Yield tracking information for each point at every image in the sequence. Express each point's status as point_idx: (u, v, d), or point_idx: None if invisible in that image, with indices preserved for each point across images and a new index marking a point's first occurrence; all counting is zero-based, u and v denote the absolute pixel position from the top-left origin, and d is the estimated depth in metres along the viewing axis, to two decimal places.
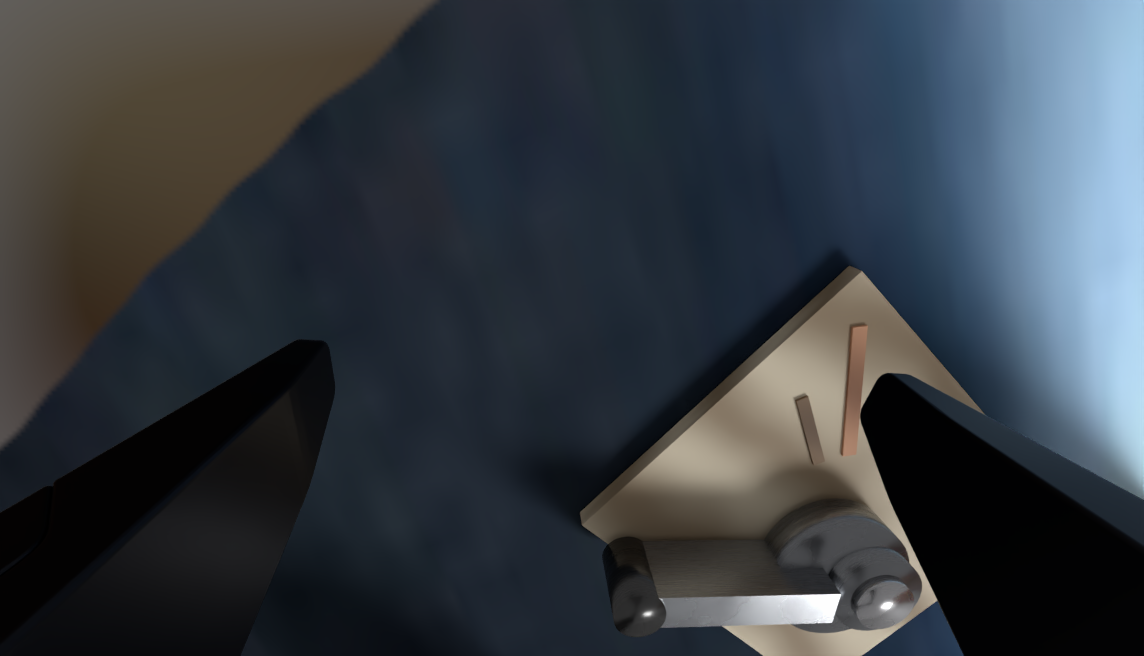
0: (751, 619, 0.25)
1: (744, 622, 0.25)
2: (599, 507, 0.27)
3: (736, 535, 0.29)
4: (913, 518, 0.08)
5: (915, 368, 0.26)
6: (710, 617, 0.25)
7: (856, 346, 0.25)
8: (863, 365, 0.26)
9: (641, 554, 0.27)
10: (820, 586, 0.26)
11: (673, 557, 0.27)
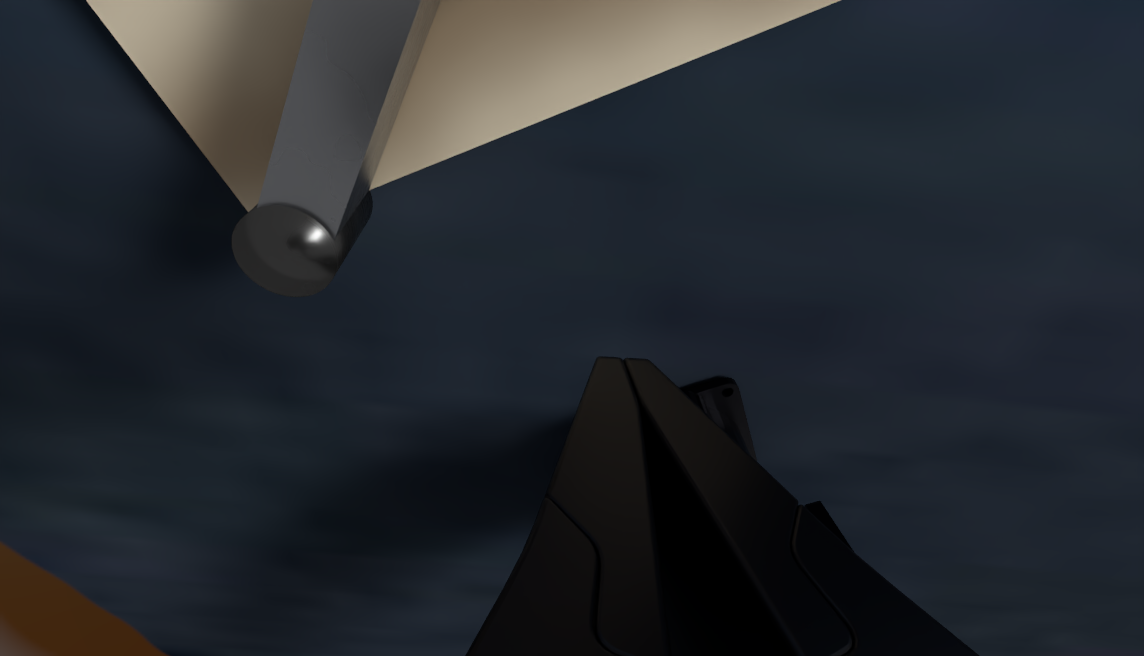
0: (380, 51, 0.11)
1: (385, 72, 0.11)
2: (237, 193, 0.17)
3: None
4: None
5: None
6: (343, 134, 0.12)
7: None
8: None
9: None
10: None
11: None
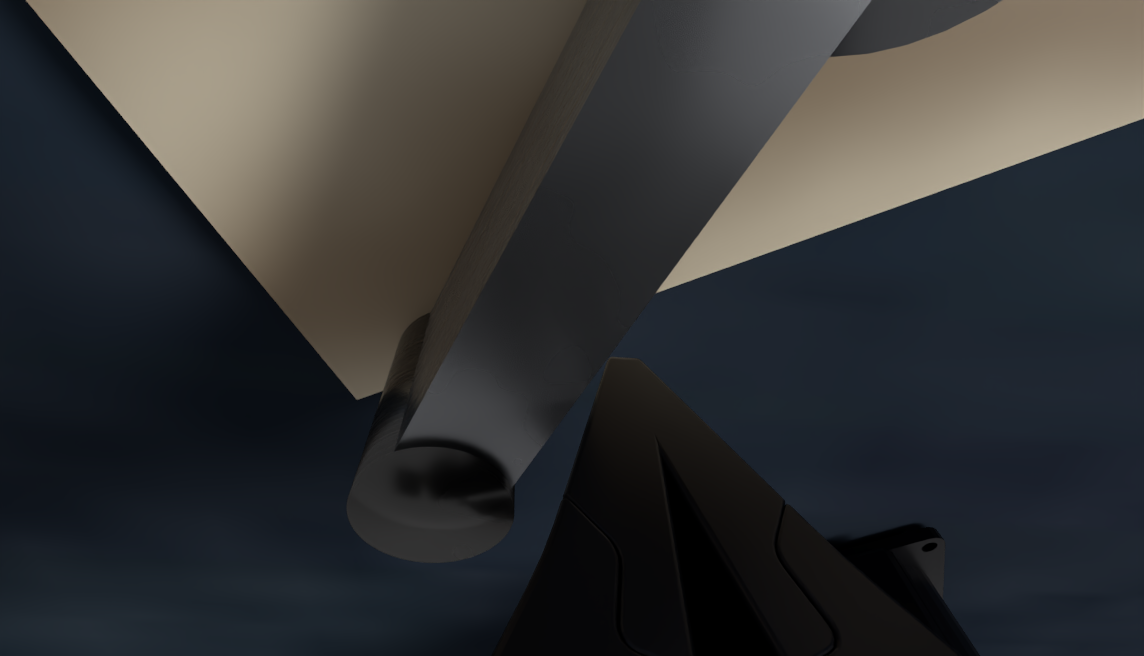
0: (669, 220, 0.06)
1: (669, 252, 0.06)
2: (322, 352, 0.11)
3: None
4: None
5: None
6: (567, 347, 0.07)
7: None
8: None
9: (406, 353, 0.10)
10: None
11: (452, 288, 0.09)
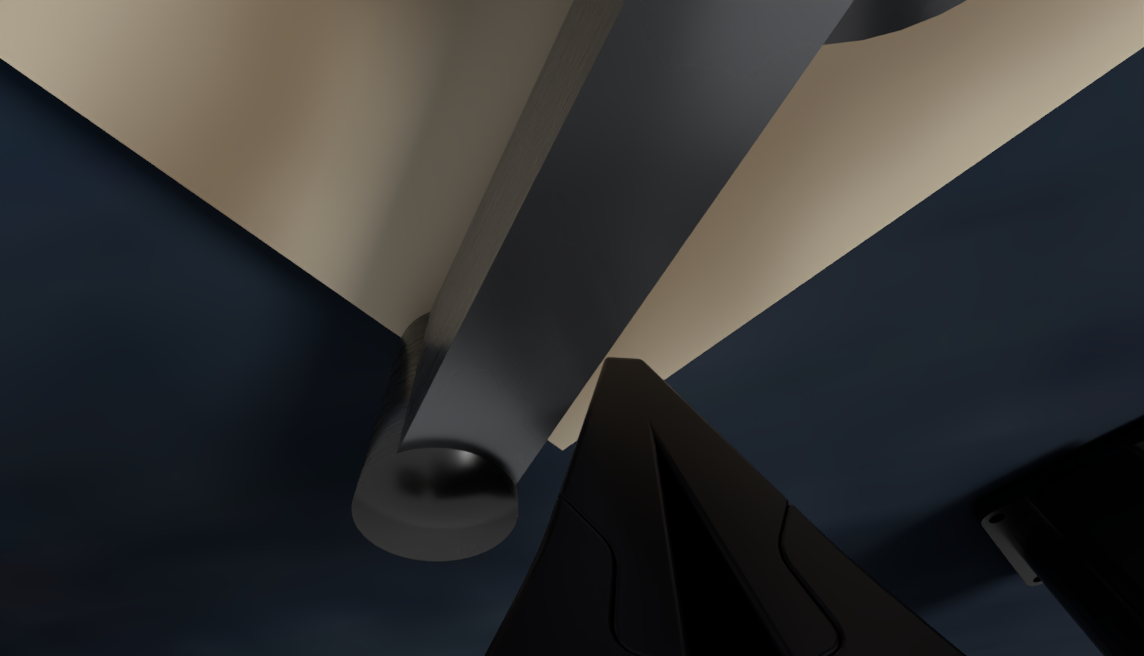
0: (663, 215, 0.06)
1: (665, 248, 0.06)
2: None
3: None
4: None
5: None
6: (565, 345, 0.07)
7: None
8: None
9: (406, 354, 0.10)
10: None
11: (449, 288, 0.09)
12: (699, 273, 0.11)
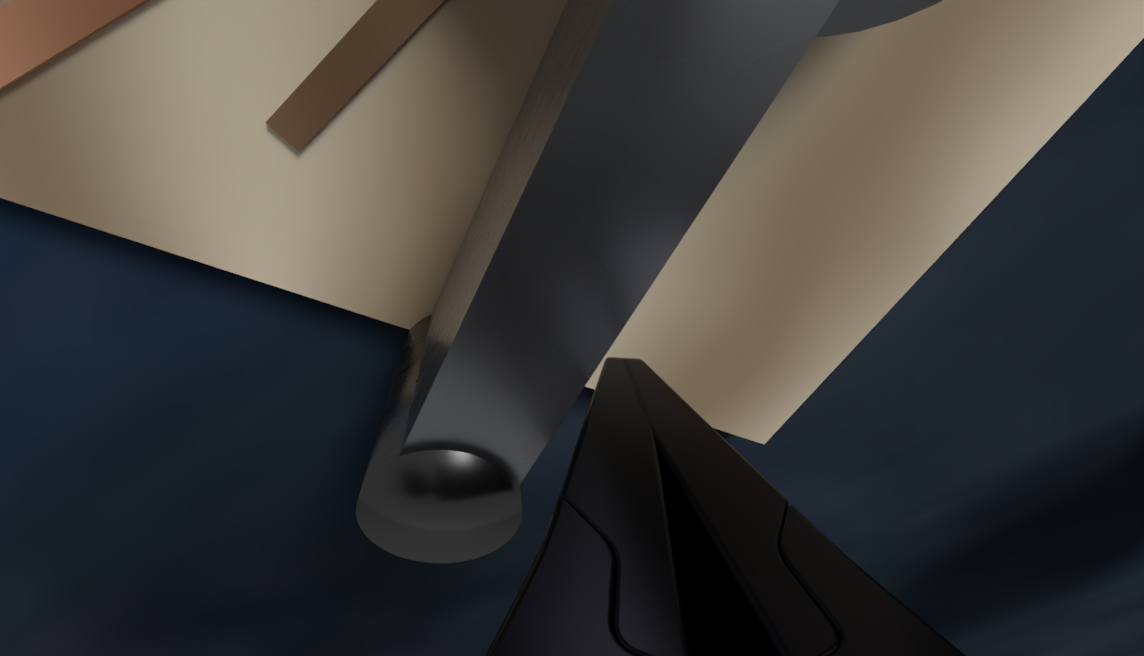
0: (659, 212, 0.06)
1: (661, 245, 0.06)
2: (721, 427, 0.14)
3: (791, 110, 0.09)
4: None
5: None
6: (564, 345, 0.07)
7: (23, 46, 0.08)
8: None
9: (409, 356, 0.10)
10: None
11: (449, 290, 0.09)
12: (859, 247, 0.11)
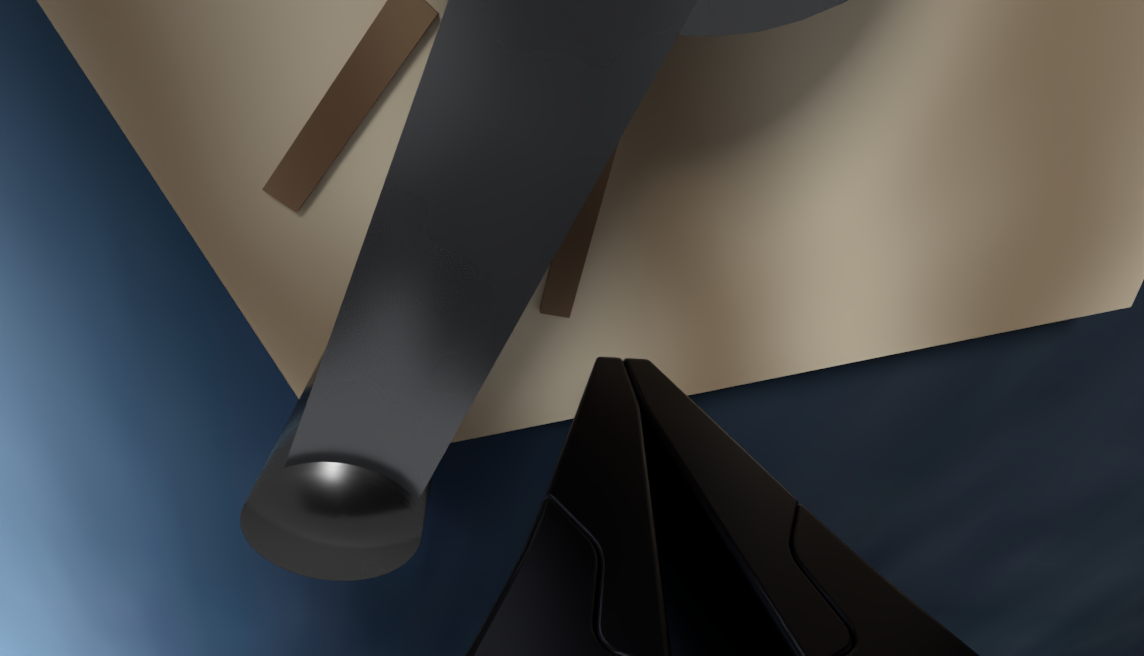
0: (533, 217, 0.05)
1: (539, 251, 0.06)
2: (1064, 316, 0.12)
3: None
4: None
5: (246, 221, 0.09)
6: (448, 354, 0.06)
7: None
8: None
9: None
10: None
11: None
12: None
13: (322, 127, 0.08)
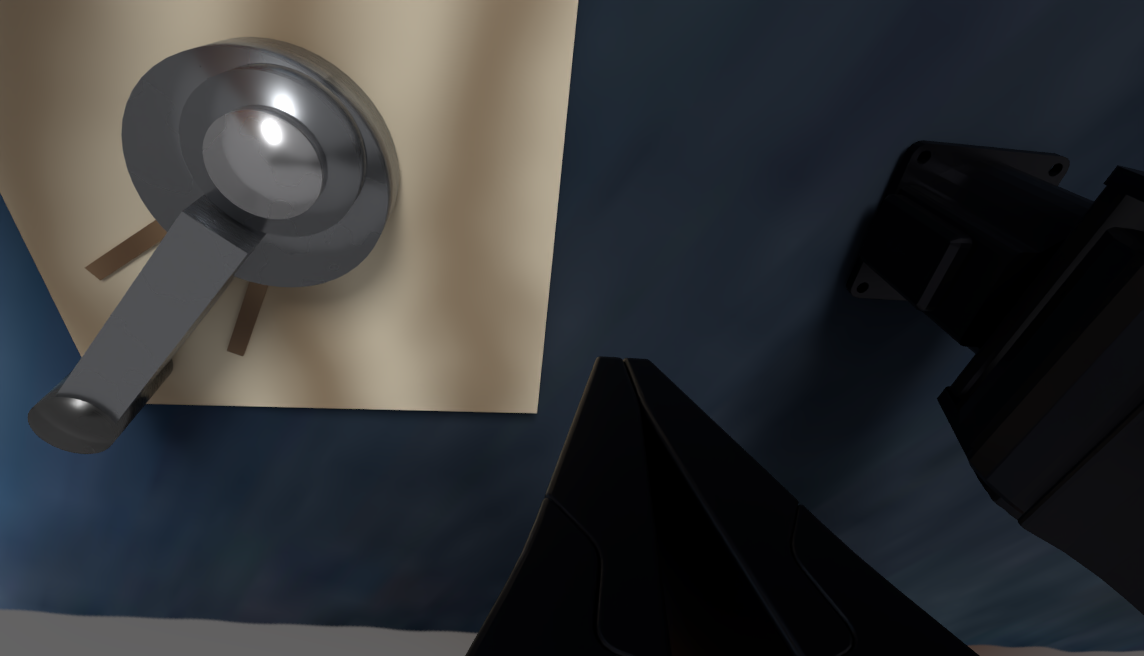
0: (165, 334, 0.16)
1: (168, 344, 0.17)
2: (507, 410, 0.25)
3: (424, 275, 0.20)
4: None
5: (73, 276, 0.19)
6: (132, 370, 0.17)
7: None
8: None
9: None
10: None
11: None
12: (502, 312, 0.22)
13: (120, 252, 0.19)
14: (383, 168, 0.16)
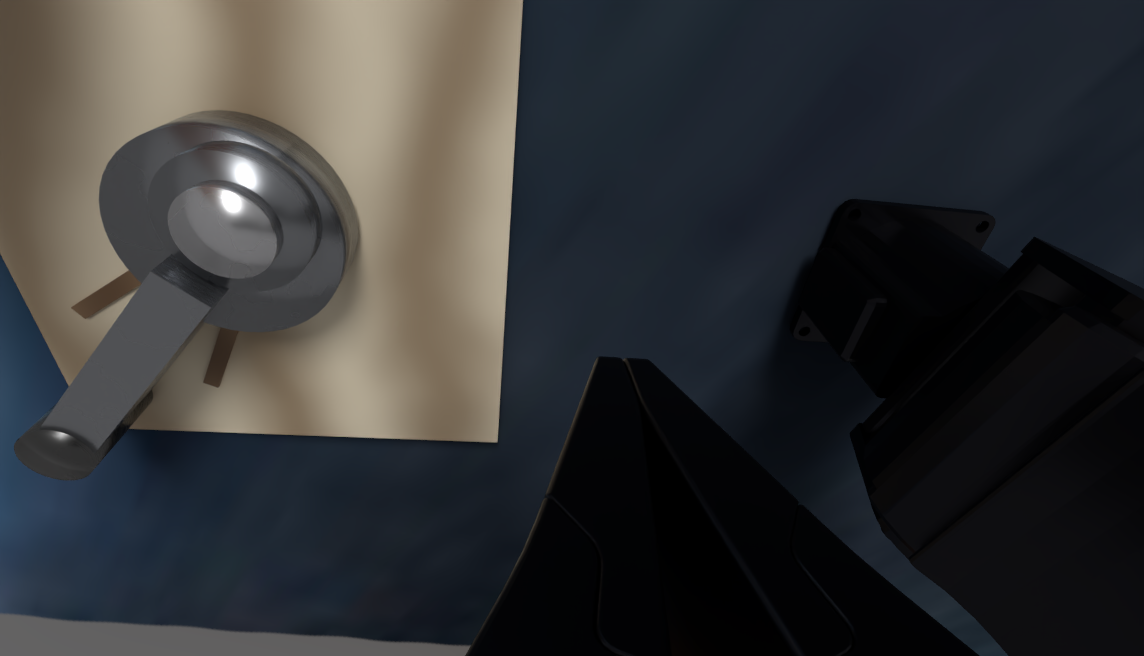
0: (138, 376, 0.18)
1: (141, 385, 0.18)
2: (469, 439, 0.26)
3: (385, 317, 0.22)
4: None
5: (60, 315, 0.21)
6: (108, 406, 0.18)
7: None
8: None
9: None
10: None
11: None
12: (461, 351, 0.23)
13: (103, 294, 0.20)
14: (337, 229, 0.17)
